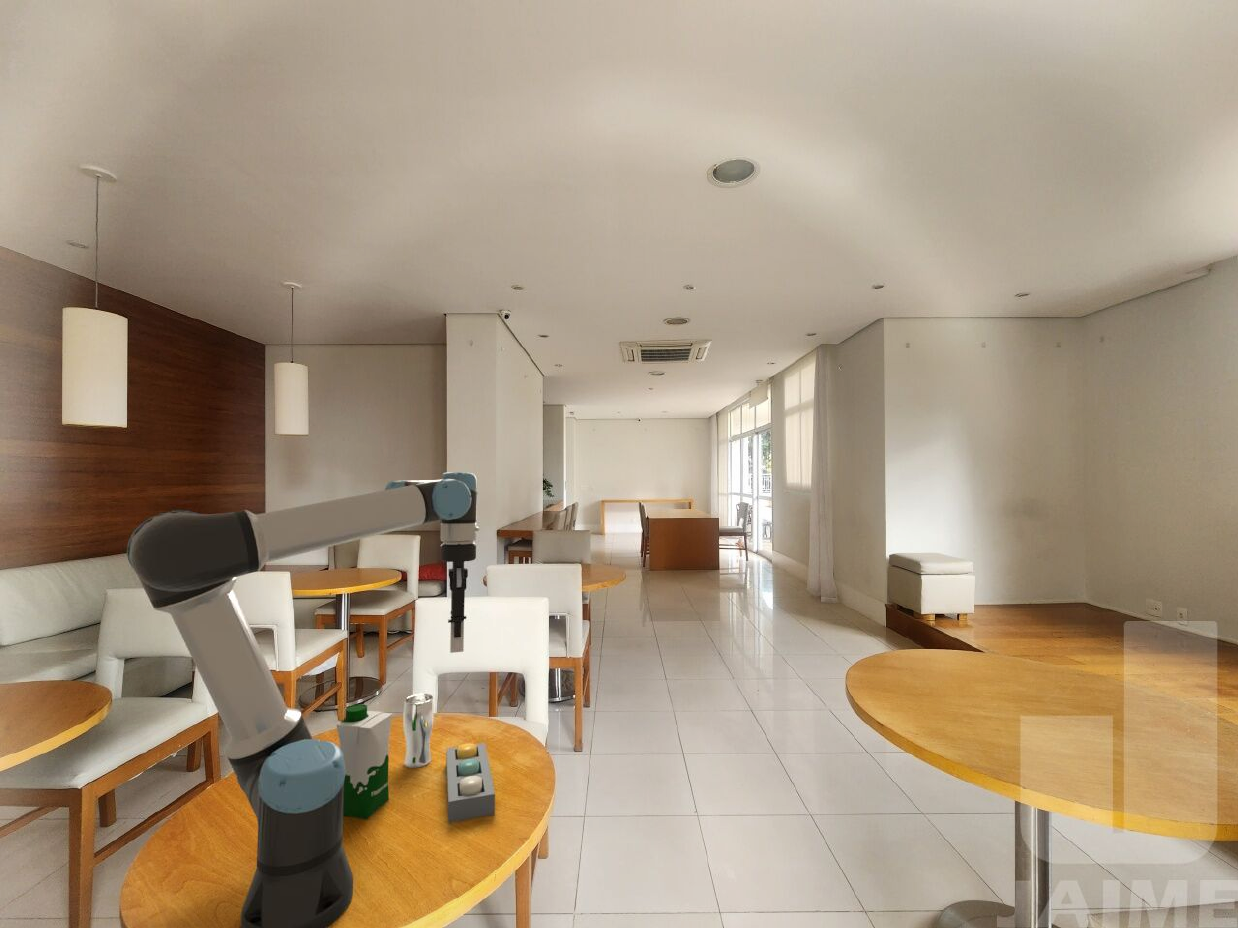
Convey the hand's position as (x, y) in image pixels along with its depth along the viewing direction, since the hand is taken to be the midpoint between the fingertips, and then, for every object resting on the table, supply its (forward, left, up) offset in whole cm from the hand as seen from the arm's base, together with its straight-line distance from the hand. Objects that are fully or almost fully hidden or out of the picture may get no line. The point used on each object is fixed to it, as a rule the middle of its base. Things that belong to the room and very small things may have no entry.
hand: (456, 651), depth 119 cm
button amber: (+10, -3, -29) cm, 30 cm away
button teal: (+2, -3, -29) cm, 29 cm away
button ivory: (-6, -3, -29) cm, 29 cm away
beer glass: (+18, +8, -31) cm, 36 cm away
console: (+2, -3, -30) cm, 31 cm away
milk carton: (+1, +18, -31) cm, 36 cm away
